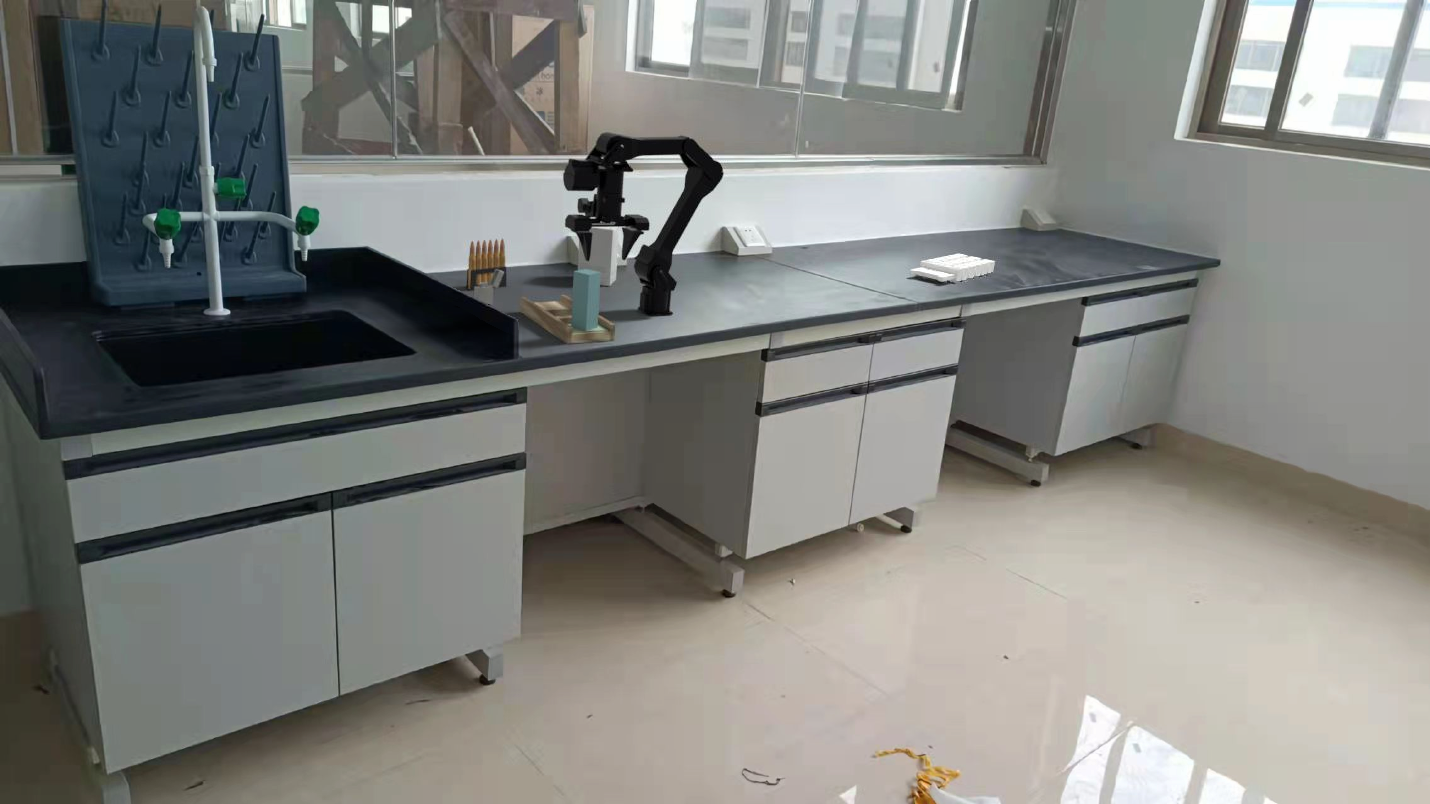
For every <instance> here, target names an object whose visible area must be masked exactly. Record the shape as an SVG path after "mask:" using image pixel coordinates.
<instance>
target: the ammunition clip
mask: <svg viewBox="0 0 1430 804" xmlns="http://www.w3.org/2000/svg"><path fill="white" fill-rule="evenodd" d="M505 249H506V244H505V241H504V238H501V240H500V244H499V240H498V239H497V238H496V239H495V240H494V245H493V241H492V239H489V241H488V244H487V242H486V239H484V240H483V242H482V247H481V242H480V240H477V242H476V246H475V243H474V240H472V241H471V242H470V246H469V254H468V268H467V269H466V270H467V272H466V273H467V274H466V290H467V291H471V292H473V291H474V287H476V286H479V283H480V282H488V285H489V283H490V281H491V279H492V276H493V274H494V271H495V269H498V270H501V271H503V272H504V274H503V276H502V279H501V281H500V284H499V286H498V288H497V289H499V288H505V287H507V286H508V285H507V284H508V282H507V266H506V250H505ZM493 289H496V288H495V287H493Z"/></svg>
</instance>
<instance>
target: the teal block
mask: <svg viewBox="0 0 1430 804" xmlns="http://www.w3.org/2000/svg"><path fill="white" fill-rule="evenodd" d="M572 277H573V282H572V297H571V299H572V318H571V327H574V328H578V329H582V330H585V331H587V330H590V329H594V328H597V327H598V315H599V312H600V311H599V307H600V292H601V291H600V290H601V285H600V277H601V272H597V271H593V270H589V269H582V270H578V269H577V270H574V271H573V276H572Z"/></svg>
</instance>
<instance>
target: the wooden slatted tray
mask: <svg viewBox="0 0 1430 804" xmlns="http://www.w3.org/2000/svg"><path fill="white" fill-rule="evenodd" d="M519 298H520V301H519V302H520V303H519V313H521V314H523V316H526V317H527V318H529V320H532V321H533V322H535V323H536V324H537V325H539V326H540V327H542V328H543V329H545V330H546V331H547V332H549V333H550V334H551V335H553V336H555V337H557V338H558V339H559V340H561V341H562V342H564V343H565V344H567V345H570V344H583V343H597V342H608V341H609V342H610V341H615V335H616V324H615V323H614V322H611V321H610V320H608V319H607V318H605V317H603V316H602V315H600V314H598V327H597V328H594V329H590V330H587V331H585V330H582V329H578V328H574V327H571V318H572V297H570V296H568V295H566V294H561V295H560V300H559V301H558V300H557V301H540V302H538V301H537V302H533V301H532V300H531V299H529V298H528V297H526V296H520V297H519Z"/></svg>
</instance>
